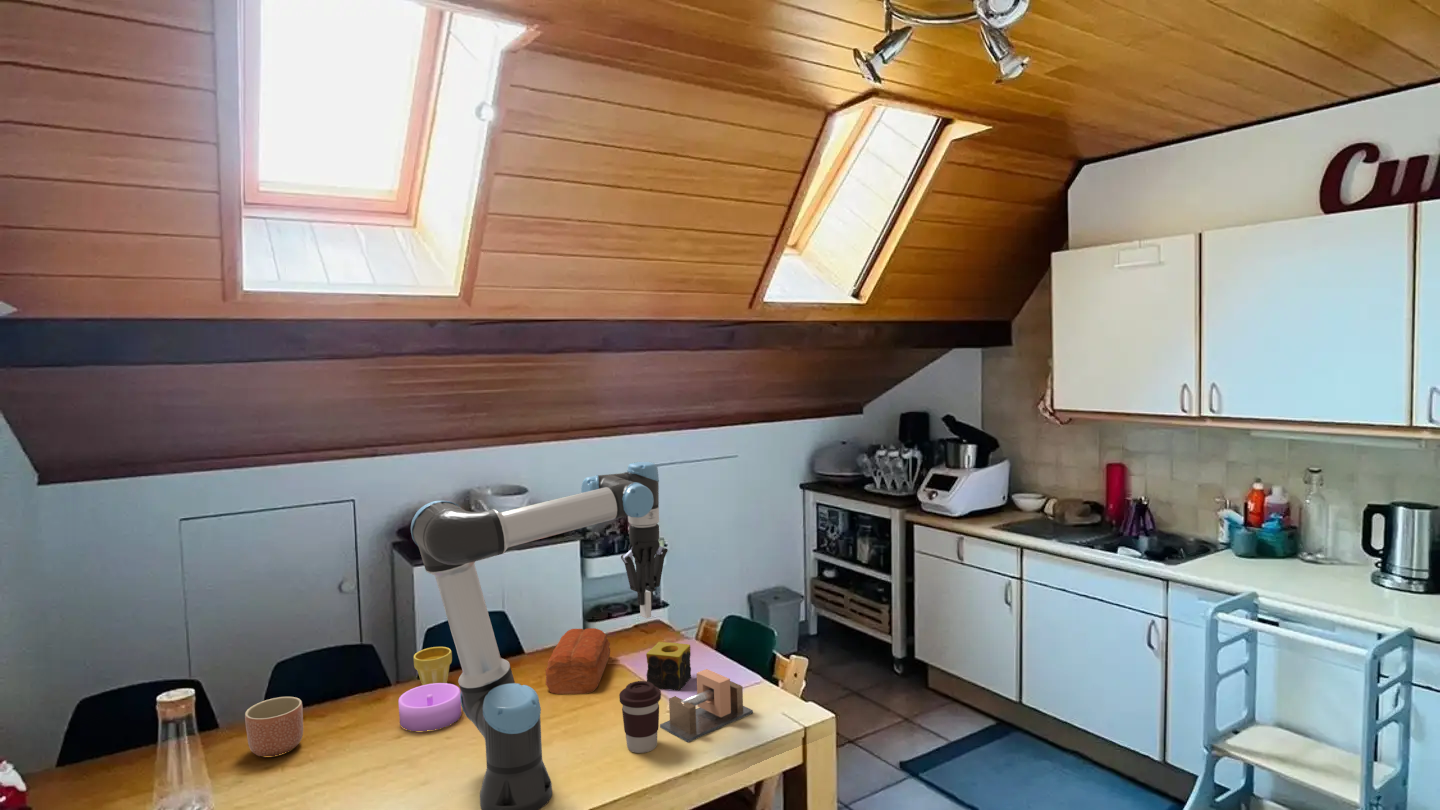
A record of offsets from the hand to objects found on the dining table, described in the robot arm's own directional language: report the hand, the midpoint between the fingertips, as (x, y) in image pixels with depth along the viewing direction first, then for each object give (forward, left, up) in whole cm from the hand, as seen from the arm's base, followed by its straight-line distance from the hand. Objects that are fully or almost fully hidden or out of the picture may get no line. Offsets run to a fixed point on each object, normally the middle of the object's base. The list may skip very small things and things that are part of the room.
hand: (645, 616), depth 209 cm
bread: (+4, +40, -29) cm, 49 cm away
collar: (+14, -9, -26) cm, 31 cm away
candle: (+19, +16, -29) cm, 38 cm away
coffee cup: (-8, -8, -29) cm, 31 cm away
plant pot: (-30, +63, -29) cm, 75 cm away
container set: (-34, +42, -29) cm, 61 cm away
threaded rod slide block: (+12, -9, -28) cm, 32 cm away
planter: (-73, +55, -29) cm, 96 cm away
